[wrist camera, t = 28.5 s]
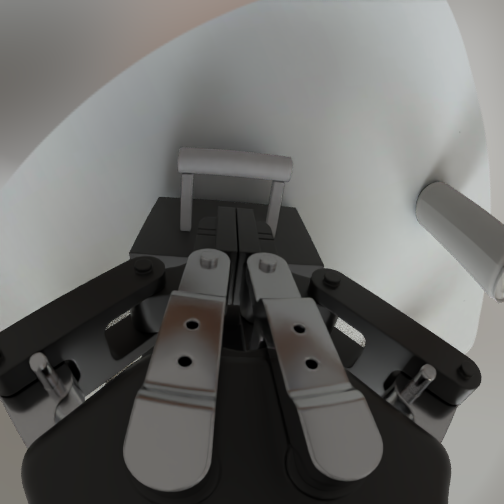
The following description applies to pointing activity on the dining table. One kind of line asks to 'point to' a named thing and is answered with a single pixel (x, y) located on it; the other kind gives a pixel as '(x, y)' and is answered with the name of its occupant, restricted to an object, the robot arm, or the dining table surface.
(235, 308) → the drawer
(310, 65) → the dining table surface
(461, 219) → the beverage can
